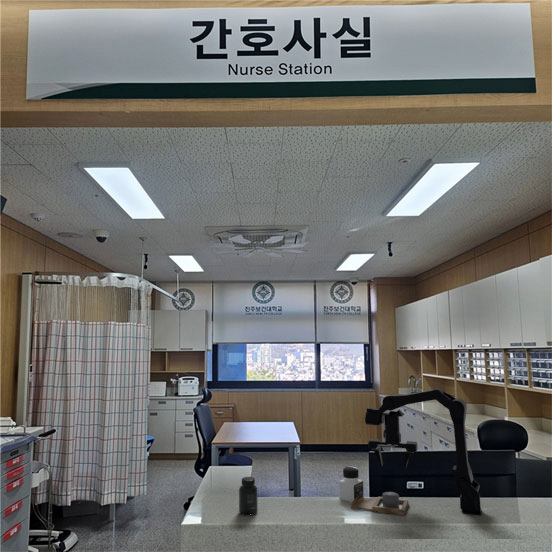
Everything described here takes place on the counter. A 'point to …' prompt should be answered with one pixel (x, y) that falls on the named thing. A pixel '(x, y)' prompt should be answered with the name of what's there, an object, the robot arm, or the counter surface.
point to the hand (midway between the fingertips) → (393, 467)
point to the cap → (390, 500)
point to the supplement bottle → (248, 496)
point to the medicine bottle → (350, 485)
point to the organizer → (378, 505)
